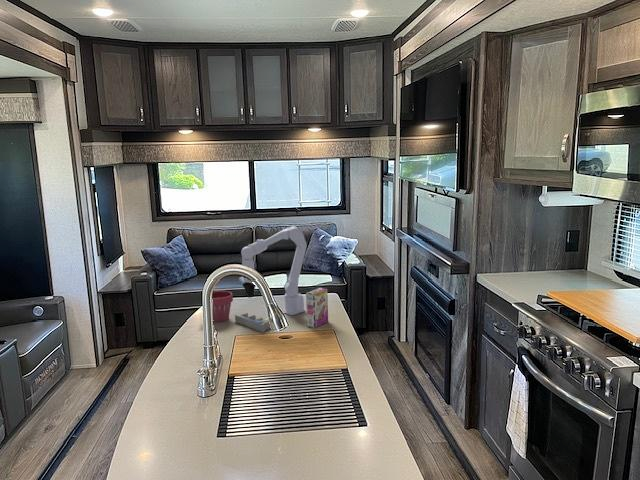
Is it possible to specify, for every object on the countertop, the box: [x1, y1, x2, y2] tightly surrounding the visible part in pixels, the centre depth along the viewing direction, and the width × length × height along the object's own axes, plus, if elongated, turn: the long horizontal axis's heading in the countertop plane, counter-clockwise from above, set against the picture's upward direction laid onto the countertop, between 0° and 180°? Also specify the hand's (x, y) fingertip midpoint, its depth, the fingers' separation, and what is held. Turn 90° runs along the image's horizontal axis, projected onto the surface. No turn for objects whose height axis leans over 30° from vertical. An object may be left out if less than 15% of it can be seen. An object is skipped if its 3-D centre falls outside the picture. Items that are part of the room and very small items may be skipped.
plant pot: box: [212, 290, 234, 323], centre depth 236 cm, size 14×14×13 cm
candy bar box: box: [305, 287, 329, 329], centre depth 222 cm, size 11×5×16 cm, turn 144°
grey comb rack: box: [234, 312, 271, 333], centre depth 226 cm, size 6×22×4 cm, turn 44°
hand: (250, 297), depth 238 cm, fingers closed
